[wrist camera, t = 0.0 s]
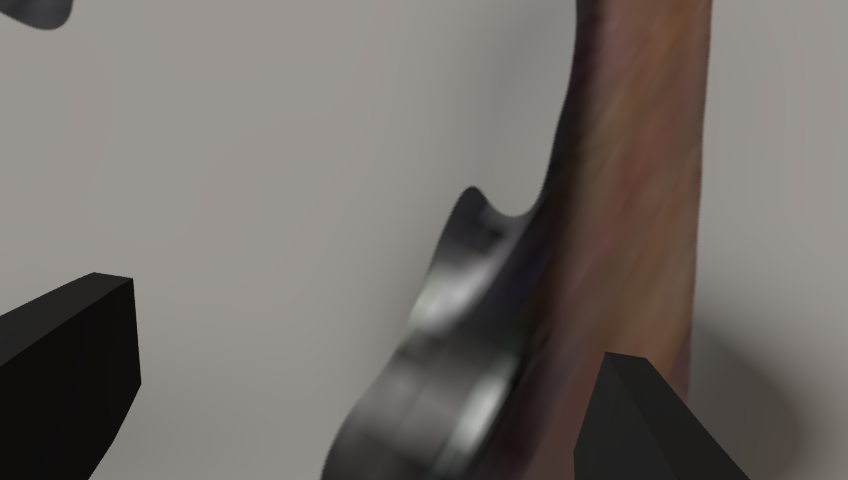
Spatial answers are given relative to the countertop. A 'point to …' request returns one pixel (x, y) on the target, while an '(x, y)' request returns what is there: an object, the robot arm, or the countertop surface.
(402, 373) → the countertop surface
